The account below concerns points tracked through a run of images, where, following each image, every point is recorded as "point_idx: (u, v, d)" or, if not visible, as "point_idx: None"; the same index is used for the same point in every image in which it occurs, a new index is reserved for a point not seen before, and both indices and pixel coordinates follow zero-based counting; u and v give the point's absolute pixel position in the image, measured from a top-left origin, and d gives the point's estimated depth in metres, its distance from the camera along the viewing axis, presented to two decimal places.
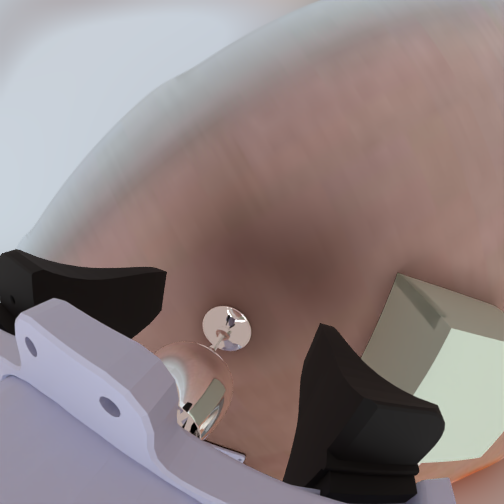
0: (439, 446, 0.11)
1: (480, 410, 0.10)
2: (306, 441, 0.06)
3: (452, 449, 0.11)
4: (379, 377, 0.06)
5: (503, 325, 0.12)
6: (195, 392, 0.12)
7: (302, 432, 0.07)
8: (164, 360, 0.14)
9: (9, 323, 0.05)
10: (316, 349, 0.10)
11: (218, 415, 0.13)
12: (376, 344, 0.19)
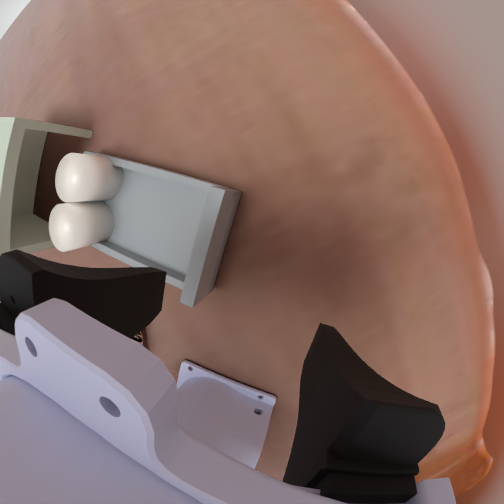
0: None
1: None
2: (306, 441, 0.06)
3: None
4: (379, 377, 0.06)
5: None
6: None
7: (302, 432, 0.07)
8: None
9: (9, 323, 0.05)
10: (316, 349, 0.10)
11: None
12: None
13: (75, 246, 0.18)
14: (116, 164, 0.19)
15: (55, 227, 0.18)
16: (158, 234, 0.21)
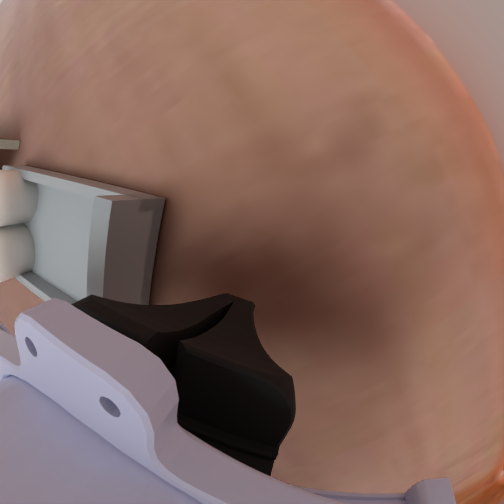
0: None
1: None
2: None
3: None
4: (255, 344, 0.07)
5: None
6: None
7: None
8: None
9: None
10: None
11: None
12: None
13: None
14: (25, 178, 0.12)
15: None
16: (73, 264, 0.14)
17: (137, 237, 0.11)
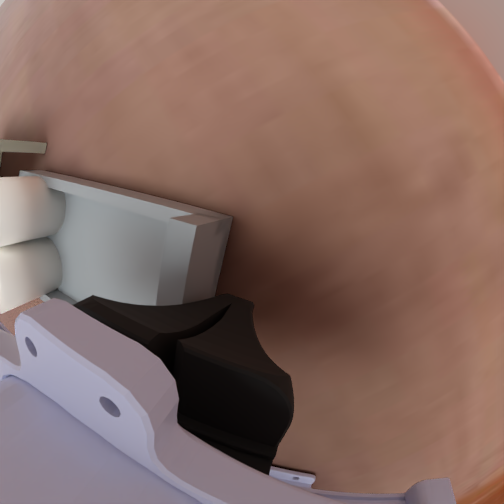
0: None
1: None
2: None
3: None
4: (254, 343, 0.07)
5: None
6: None
7: None
8: None
9: None
10: None
11: None
12: None
13: (11, 306, 0.11)
14: (51, 186, 0.12)
15: None
16: (115, 285, 0.13)
17: (209, 262, 0.11)
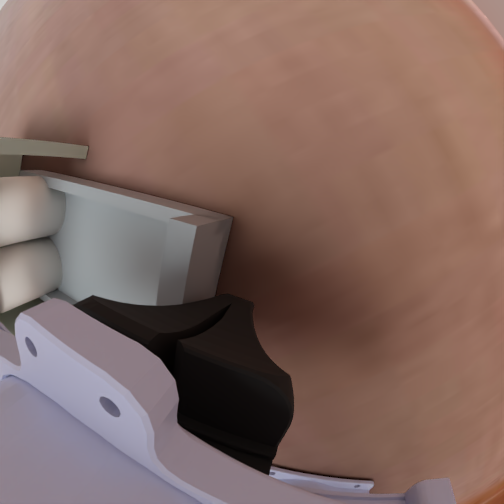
0: None
1: None
2: None
3: None
4: (254, 343, 0.07)
5: None
6: None
7: None
8: None
9: None
10: None
11: None
12: None
13: (11, 306, 0.11)
14: (52, 186, 0.12)
15: None
16: (115, 285, 0.13)
17: (209, 262, 0.11)
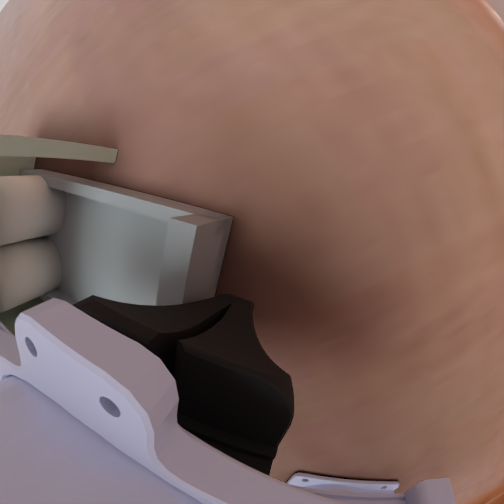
0: None
1: None
2: None
3: None
4: (254, 343, 0.07)
5: None
6: None
7: None
8: None
9: None
10: None
11: None
12: None
13: (11, 306, 0.11)
14: (52, 185, 0.12)
15: None
16: (115, 285, 0.13)
17: (209, 262, 0.11)
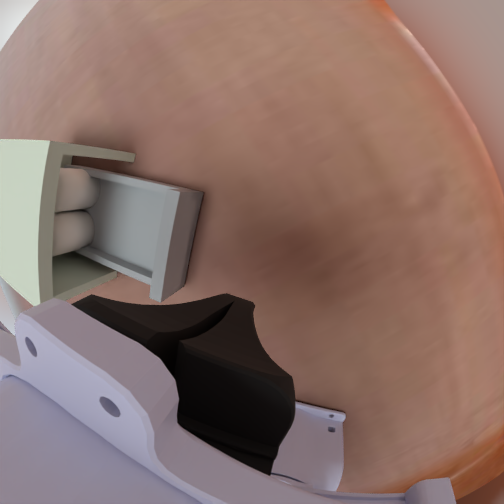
0: (26, 236, 0.14)
1: (8, 211, 0.15)
2: None
3: (29, 214, 0.14)
4: (255, 344, 0.07)
5: None
6: None
7: None
8: None
9: None
10: None
11: None
12: None
13: (59, 252, 0.19)
14: (92, 175, 0.21)
15: None
16: (132, 237, 0.22)
17: (188, 215, 0.20)
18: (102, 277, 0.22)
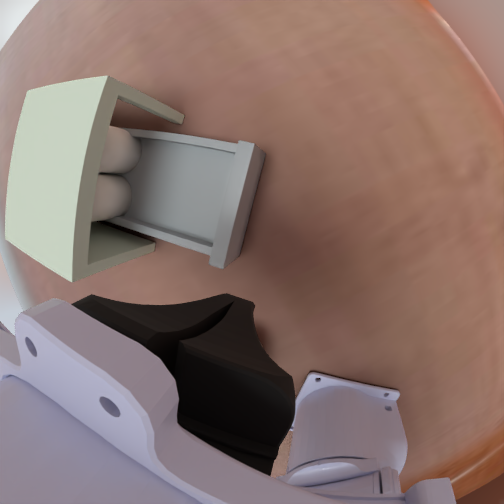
0: (60, 188, 0.13)
1: (36, 164, 0.13)
2: None
3: (68, 160, 0.12)
4: (255, 344, 0.07)
5: None
6: None
7: None
8: None
9: None
10: None
11: None
12: None
13: (92, 217, 0.18)
14: (135, 134, 0.19)
15: None
16: (180, 201, 0.20)
17: (254, 173, 0.18)
18: (140, 249, 0.21)
